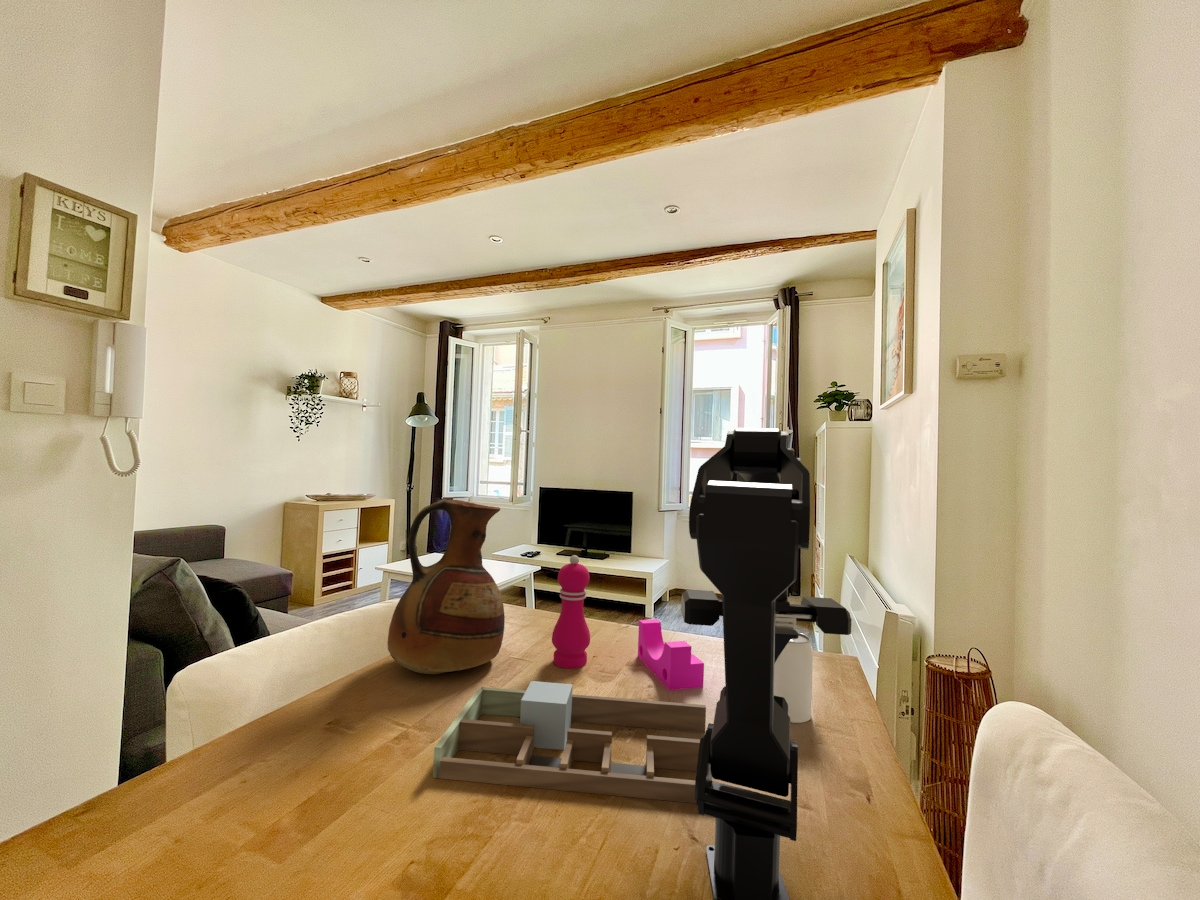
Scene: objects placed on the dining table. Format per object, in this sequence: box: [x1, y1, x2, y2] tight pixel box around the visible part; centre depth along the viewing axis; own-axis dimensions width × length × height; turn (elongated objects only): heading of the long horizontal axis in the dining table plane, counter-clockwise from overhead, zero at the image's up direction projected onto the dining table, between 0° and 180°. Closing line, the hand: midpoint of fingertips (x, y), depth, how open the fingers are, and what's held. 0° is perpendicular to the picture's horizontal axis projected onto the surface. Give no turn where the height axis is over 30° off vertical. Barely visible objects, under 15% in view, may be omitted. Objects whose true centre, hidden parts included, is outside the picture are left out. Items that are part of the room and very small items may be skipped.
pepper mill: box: [551, 554, 591, 670], centre depth 95 cm, size 7×7×20 cm
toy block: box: [637, 618, 705, 691], centre depth 93 cm, size 15×6×8 cm, turn 16°
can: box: [774, 632, 814, 724], centre depth 78 cm, size 6×6×12 cm
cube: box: [519, 680, 573, 751], centre depth 69 cm, size 6×6×6 cm
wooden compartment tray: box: [432, 686, 707, 804], centre depth 66 cm, size 16×33×4 cm, turn 85°
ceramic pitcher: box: [387, 498, 506, 675], centre depth 93 cm, size 20×20×30 cm
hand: (759, 683), depth 60 cm, fingers closed
